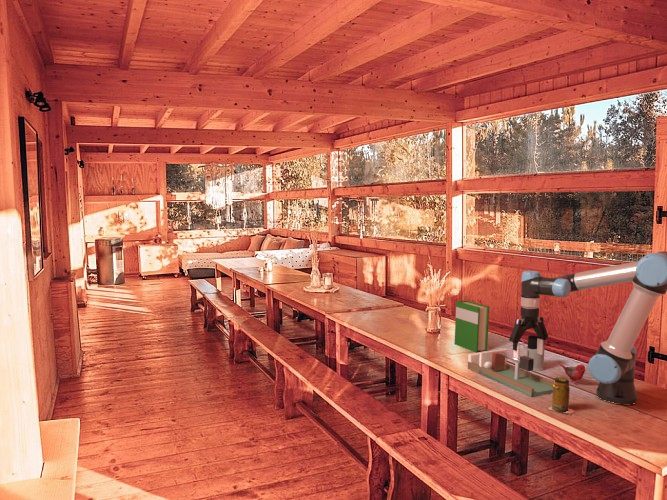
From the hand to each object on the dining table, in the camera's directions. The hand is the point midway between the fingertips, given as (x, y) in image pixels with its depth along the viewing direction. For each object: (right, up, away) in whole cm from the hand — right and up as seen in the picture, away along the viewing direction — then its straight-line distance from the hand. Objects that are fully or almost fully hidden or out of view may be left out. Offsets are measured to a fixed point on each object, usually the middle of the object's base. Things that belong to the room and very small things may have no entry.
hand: (528, 355), depth 238 cm
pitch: (-5, -13, +10) cm, 17 cm away
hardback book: (-10, -7, +61) cm, 63 cm away
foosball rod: (-4, -11, +8) cm, 14 cm away
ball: (-11, -9, +23) cm, 27 cm away
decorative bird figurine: (+22, -13, +8) cm, 27 cm away
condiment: (+4, -16, -25) cm, 30 cm away
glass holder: (+10, -11, +28) cm, 32 cm away
